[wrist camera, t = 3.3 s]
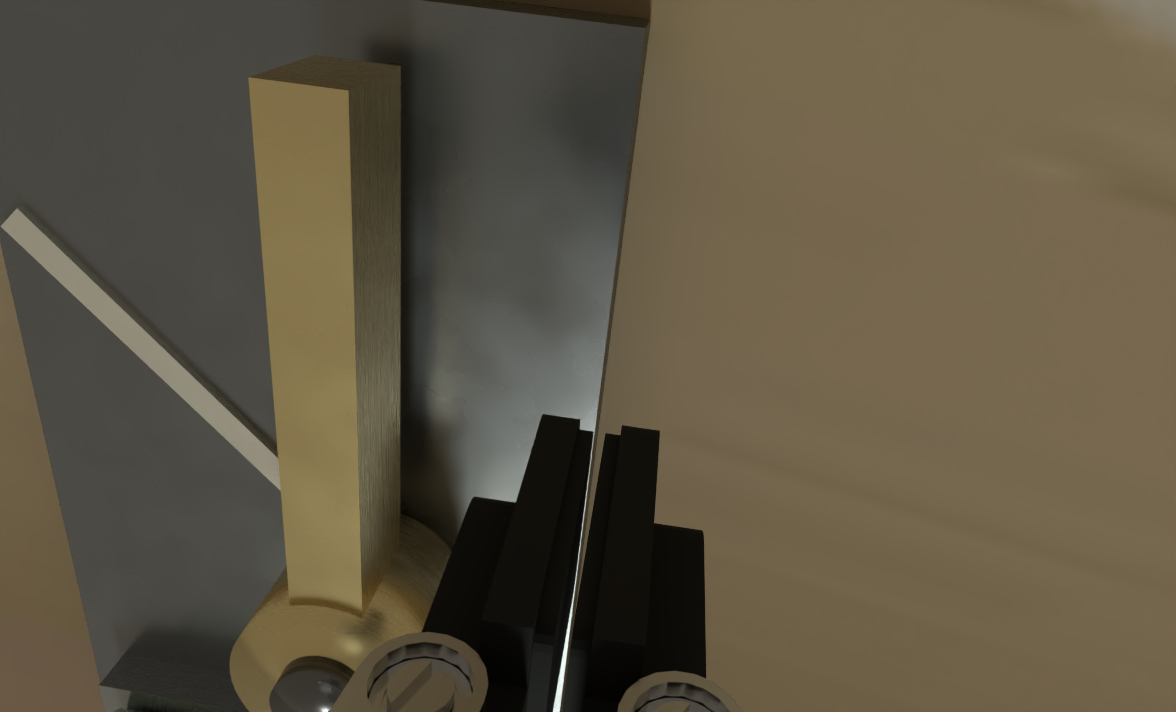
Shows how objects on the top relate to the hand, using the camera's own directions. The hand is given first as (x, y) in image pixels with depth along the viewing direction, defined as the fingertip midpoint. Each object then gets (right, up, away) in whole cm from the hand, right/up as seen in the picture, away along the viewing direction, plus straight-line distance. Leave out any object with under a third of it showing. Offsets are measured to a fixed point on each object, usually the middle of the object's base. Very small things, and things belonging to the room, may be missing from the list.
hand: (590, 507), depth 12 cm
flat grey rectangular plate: (-7, 0, +11) cm, 13 cm away
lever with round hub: (-5, +1, +8) cm, 9 cm away
